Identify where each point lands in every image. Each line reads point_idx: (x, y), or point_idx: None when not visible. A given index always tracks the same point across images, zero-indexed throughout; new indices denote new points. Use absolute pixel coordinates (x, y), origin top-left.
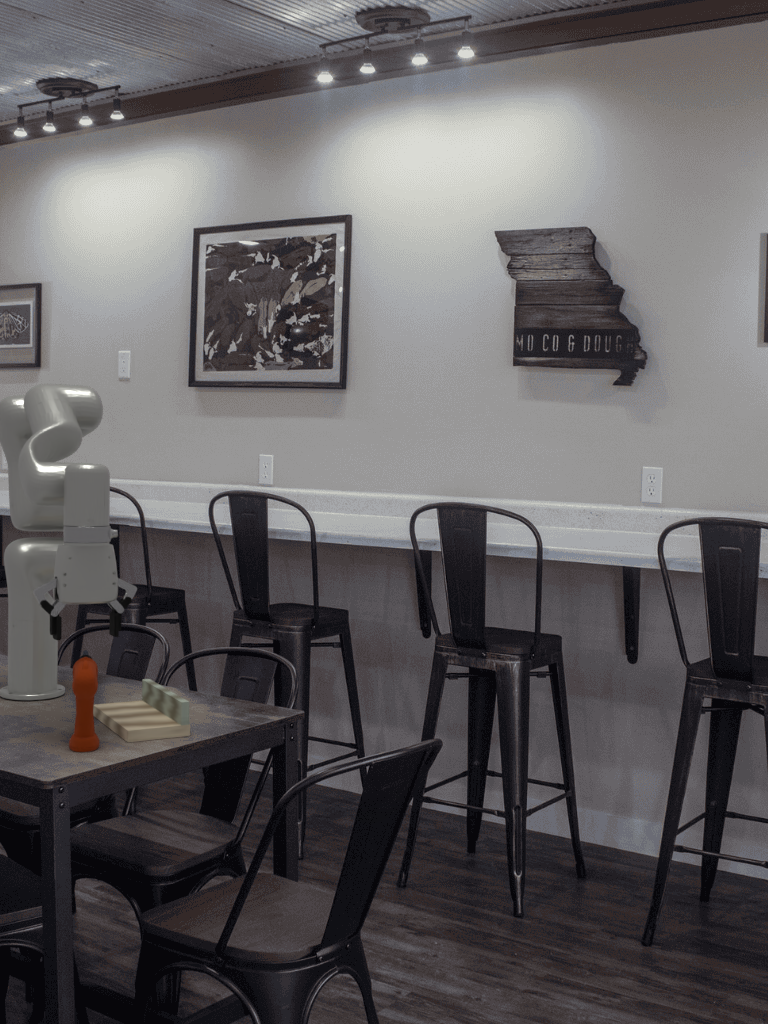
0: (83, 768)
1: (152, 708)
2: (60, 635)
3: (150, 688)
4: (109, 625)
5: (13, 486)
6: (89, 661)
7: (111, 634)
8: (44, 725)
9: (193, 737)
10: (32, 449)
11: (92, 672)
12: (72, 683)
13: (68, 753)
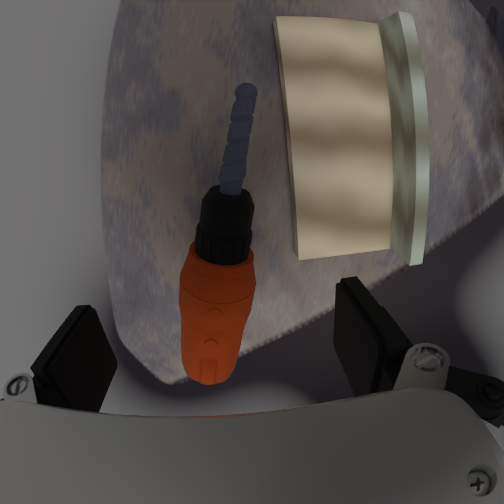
0: None
1: (385, 97)
2: (110, 373)
3: (403, 65)
4: (350, 303)
5: None
6: (223, 342)
7: (336, 311)
8: (167, 77)
9: None
10: None
11: (224, 380)
12: (181, 319)
13: None
